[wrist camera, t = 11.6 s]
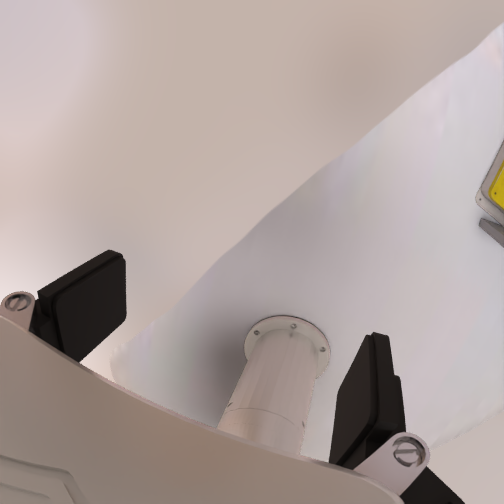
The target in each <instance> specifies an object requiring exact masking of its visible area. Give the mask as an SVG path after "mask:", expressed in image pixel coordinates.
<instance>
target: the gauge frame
mask: <svg viewBox="0 0 504 504" xmlns="http://www.w3.org/2000/svg"><path fill="white" fill-rule="evenodd" d="M479 226H480V227H481V228H482V229H483V230H484V231H486V232H487V233H488V234H489V235H490V236H491V237H492V238H494V239H495V240H496V241H497V242H498V243H499V244H500V245H501V246H503V247H504V226H501V225H499V224H496V223H493V222H490V221H488V220H485V219H482V218H481V221H480V224H479Z"/></svg>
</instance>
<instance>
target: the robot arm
mask: <svg viewBox="0 0 504 504" xmlns="http://www.w3.org/2000/svg"><path fill="white" fill-rule="evenodd" d="M37 292H38V298H39V299H37V300H36V301H35V298H34V296H33V295H32V294H30V293H28V292H23V291H20V292H14V293H11V294H9V295H8V296H6V297H5V298H4V299H3V301H2V302H1V305H0V504H465V503H464V502H463V501H462V500H461V499H460V498H459V497H458V496H457V495H456V494H455V493H454V492H453V491H452V490H451V489H450V488H449V487H448V486H446V484H444V482H443V481H441V480H440V479H439V478H438V477H437V476H436V475H435V474H434V473H433V472H432V471H431V470H430V469H429V468H428V467H427V464H428V462H429V459H430V452H429V448H428V446H427V444H426V443H425V442H424V441H423V440H422V439H421V438H420V437H418V436H417V435H415V434H412V433H407V432H406V425H405V414H404V405H403V396H402V388H401V381H400V377H399V376H396V375H394V369H393V362H392V354H391V348H390V341H389V336H387V335H383V334H379V333H376V332H373V333H372V334H371V335H366V336H365V338H364V340H363V342H362V344H361V346H360V348H359V351H358V353H357V355H356V357H355V359H354V361H353V363H352V365H351V367H350V369H349V371H348V373H347V375H346V376H345V378H344V380H343V382H342V384H341V386H340V388H339V391H338V394H337V402H336V411H335V419H334V428H333V435H332V443H331V450H330V457H329V463H327V462H324V461H320V460H316V459H313V458H309V457H305V456H301V455H300V451H301V446H302V442H303V437H304V432H305V427H306V423H307V418H308V413H309V408H310V403H311V398H312V393H313V388H314V382H315V379H317V378H318V377H319V376H321V375H322V374H323V372H324V371H325V370H326V368H327V366H328V363H329V359H330V348H329V344H328V342H327V340H326V338H325V337H324V335H323V334H322V333H321V332H320V331H319V330H318V329H317V328H316V327H315V326H313V325H312V324H310V323H308V322H306V321H304V320H301V319H298V318H295V317H288V316H276V317H271V318H267V319H265V320H262V321H260V322H259V323H257V324H256V325H255V326H254V327H253V328H252V329H251V330H250V331H249V333H248V335H247V337H246V339H245V343H244V353H245V356H246V359H247V363H246V365H245V368H244V370H243V372H242V374H241V377H240V379H239V381H238V383H237V385H236V387H235V390H234V392H233V394H232V396H231V398H230V400H229V403H228V405H227V407H226V409H225V411H224V413H223V415H222V417H221V420H220V422H219V424H218V426H217V429H216V428H213V427H211V426H208V425H205V424H203V423H200V422H198V421H195V420H193V419H190V418H188V417H186V416H183V415H181V414H178V413H176V412H174V411H172V410H169V409H167V408H165V407H163V406H160V405H158V404H156V403H154V402H152V401H150V400H147V399H145V398H143V397H141V396H139V395H137V394H135V393H133V392H131V391H129V390H127V389H125V388H123V387H121V386H119V385H117V384H116V383H114V382H112V381H110V380H108V379H106V378H104V377H102V376H101V375H99V374H97V373H95V372H94V371H92V370H90V369H88V368H87V367H85V366H83V365H82V364H80V363H79V362H80V361H81V360H83V358H84V357H86V356H87V355H88V354H89V353H90V352H91V351H92V350H93V349H94V348H96V347H97V346H98V345H99V344H100V343H101V342H102V341H103V340H104V339H105V338H107V337H108V336H109V335H110V334H111V333H112V332H113V331H114V330H115V329H116V328H118V327H119V326H120V325H121V324H122V323H123V322H124V321H125V319H126V314H127V312H126V261H125V259H124V258H123V255H122V254H121V253H118V252H115V251H112V250H107V251H105V252H103V253H102V254H100V255H98V256H96V257H94V258H93V259H91V260H89V261H87V262H86V263H84V264H82V265H81V266H79V267H77V268H75V269H74V270H72V271H70V272H68V273H67V274H65V275H63V276H62V277H60V278H58V279H57V280H55V281H54V282H52V283H50V284H48V285H47V286H45V287H44V288H42V289H40V290H39V291H37Z"/></svg>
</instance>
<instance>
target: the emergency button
mask: <svg viewBox="0 0 504 504" xmlns="http://www.w3.org/2000/svg"><path fill="white" fill-rule="evenodd" d="M476 203H477V204H478V205H479V206H480V207H481V208H482V209H483V210H485V211H486V212H487V213H488V214H489V215H491V216H492V217H493V218H494V219H495V220H496V221H498V222H499V223H500V224H501V225H502V226H504V140H503V143H502V145H501V147H500V149H499V151H498V153H497V155H496V157H495V159H494V162H493V164H492V166H491V168H490V169H489V171H488V173H487V175H486V177H485V179H484V181H483V183H482V185H481V187H480V188H479V190H478V192H477V194H476Z"/></svg>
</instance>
